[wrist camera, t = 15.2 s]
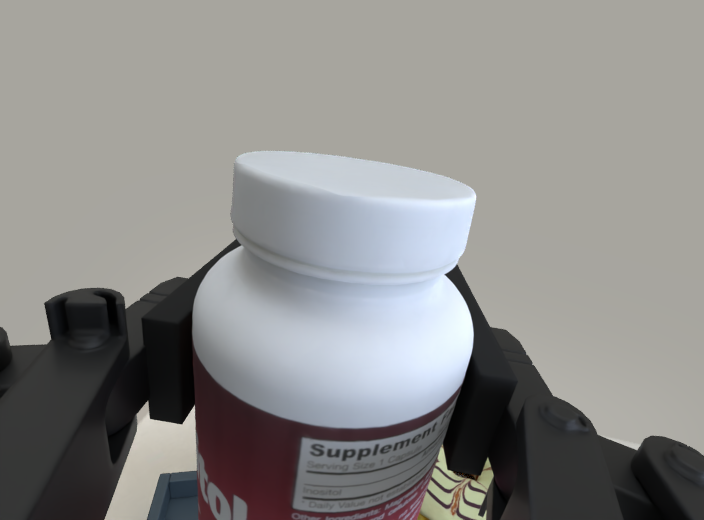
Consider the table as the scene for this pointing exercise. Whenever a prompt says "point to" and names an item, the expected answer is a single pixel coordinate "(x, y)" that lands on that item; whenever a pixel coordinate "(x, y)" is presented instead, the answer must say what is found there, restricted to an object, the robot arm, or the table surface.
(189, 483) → the tray
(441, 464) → the decorated donut
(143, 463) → the table surface
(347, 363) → the pill bottle
